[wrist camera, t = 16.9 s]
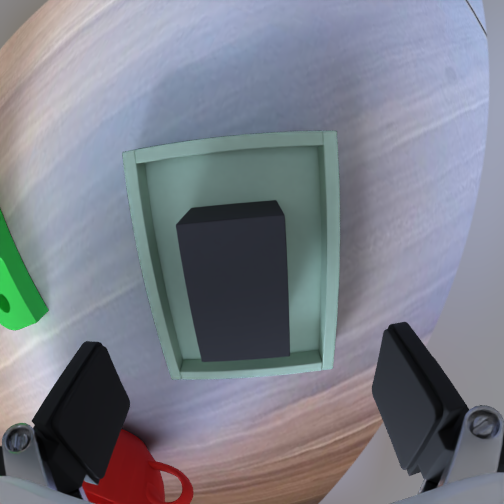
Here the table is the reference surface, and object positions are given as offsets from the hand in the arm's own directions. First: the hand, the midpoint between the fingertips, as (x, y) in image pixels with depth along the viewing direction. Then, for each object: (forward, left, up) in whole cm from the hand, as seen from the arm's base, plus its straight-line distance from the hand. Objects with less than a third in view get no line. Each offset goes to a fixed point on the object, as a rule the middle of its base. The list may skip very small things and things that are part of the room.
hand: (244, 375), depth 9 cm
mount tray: (0, 0, -11) cm, 11 cm away
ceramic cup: (+14, +20, -11) cm, 27 cm away
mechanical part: (+21, -2, -11) cm, 24 cm away
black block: (0, 0, -10) cm, 10 cm away
